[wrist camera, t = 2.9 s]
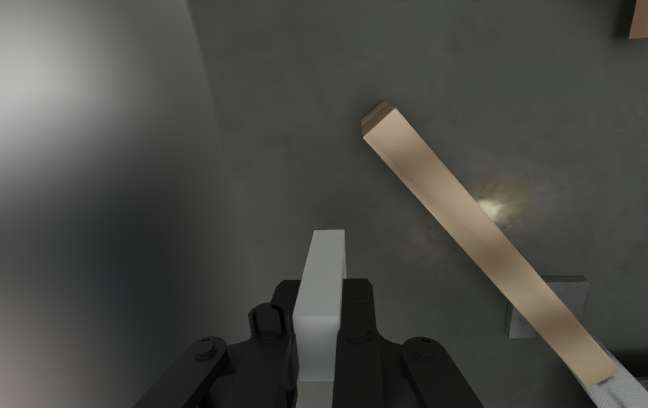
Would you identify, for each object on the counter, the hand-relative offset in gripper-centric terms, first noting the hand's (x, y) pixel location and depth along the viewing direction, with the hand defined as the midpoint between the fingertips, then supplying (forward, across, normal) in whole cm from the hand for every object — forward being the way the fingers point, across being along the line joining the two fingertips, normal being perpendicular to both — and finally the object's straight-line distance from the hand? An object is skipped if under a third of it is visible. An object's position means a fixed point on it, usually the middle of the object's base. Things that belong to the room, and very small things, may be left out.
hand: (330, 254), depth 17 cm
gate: (+11, -10, +3) cm, 15 cm away
